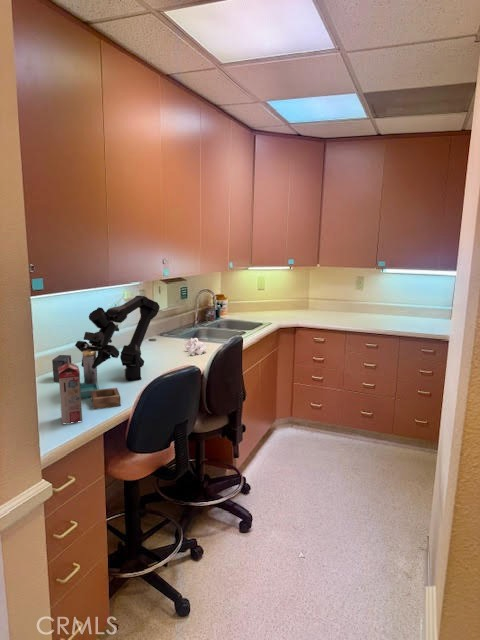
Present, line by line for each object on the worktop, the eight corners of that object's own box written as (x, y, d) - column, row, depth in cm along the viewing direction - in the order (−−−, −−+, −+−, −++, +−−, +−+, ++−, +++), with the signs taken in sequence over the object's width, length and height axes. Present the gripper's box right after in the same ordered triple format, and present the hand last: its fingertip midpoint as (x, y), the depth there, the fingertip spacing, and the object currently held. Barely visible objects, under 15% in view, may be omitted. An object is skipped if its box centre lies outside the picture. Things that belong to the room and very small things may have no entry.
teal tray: (97, 388, 186) (97, 381, 186) (100, 396, 177) (99, 389, 176) (70, 391, 182) (69, 384, 182) (71, 400, 172) (70, 393, 172)
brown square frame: (117, 396, 177) (116, 387, 176) (120, 405, 168) (120, 396, 167) (91, 400, 173) (91, 390, 172) (93, 409, 164) (93, 399, 163)
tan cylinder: (98, 379, 176) (97, 349, 174) (96, 384, 172) (94, 352, 169) (85, 380, 176) (84, 349, 173) (82, 384, 171) (81, 352, 168)
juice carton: (80, 414, 159) (77, 357, 155) (82, 422, 153) (79, 362, 149) (61, 417, 156) (57, 359, 152) (62, 424, 150) (58, 364, 146)
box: (60, 376, 200) (59, 354, 198) (72, 377, 200) (71, 355, 198) (53, 382, 192) (51, 359, 190) (65, 382, 192) (64, 359, 190)
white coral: (210, 349, 240) (198, 339, 237) (200, 361, 239) (188, 351, 236) (204, 344, 251) (193, 334, 248) (194, 356, 250) (183, 346, 247)
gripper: (76, 321, 176) (57, 354, 168) (113, 326, 169) (95, 360, 161) (91, 336, 185) (73, 367, 177) (127, 341, 178) (110, 374, 170)
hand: (87, 367), depth 171 cm, fingers closed on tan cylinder, 5 cm apart
